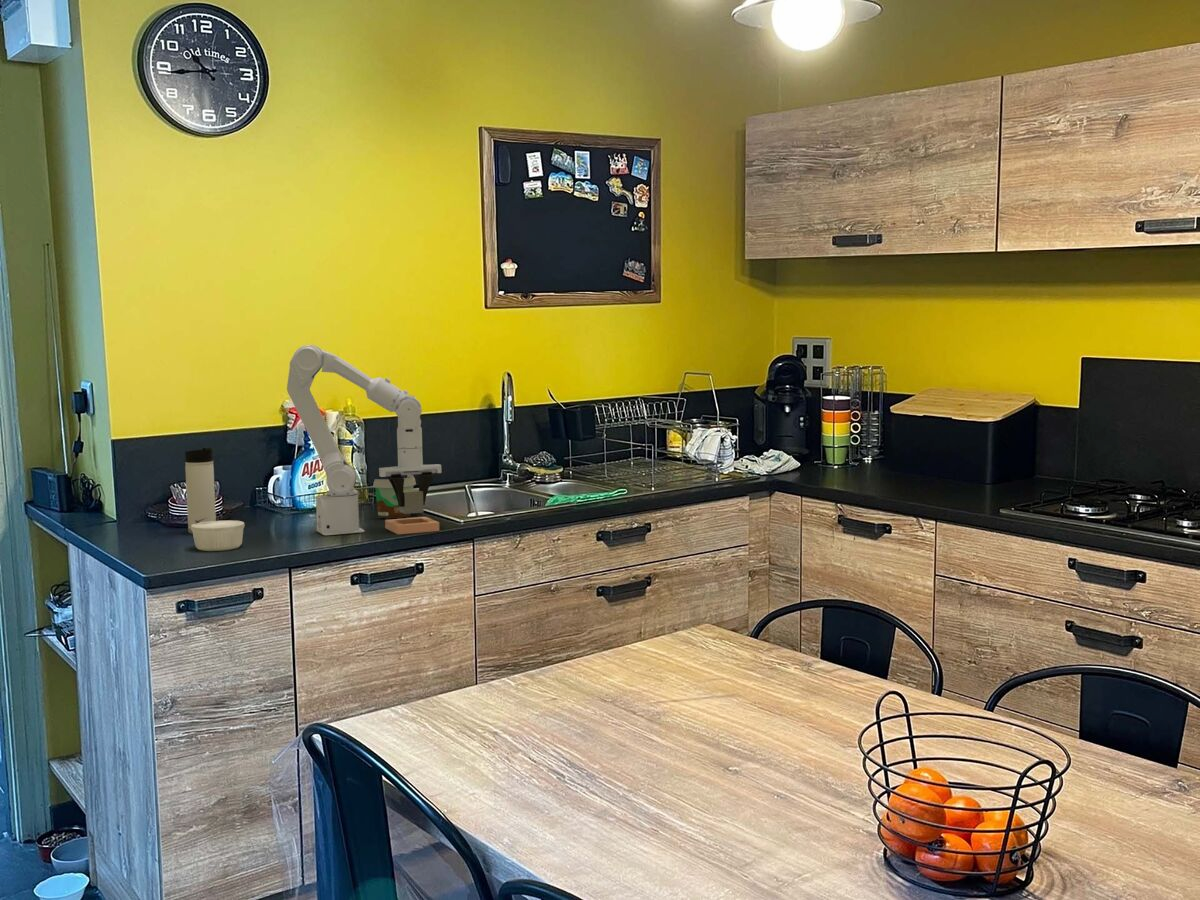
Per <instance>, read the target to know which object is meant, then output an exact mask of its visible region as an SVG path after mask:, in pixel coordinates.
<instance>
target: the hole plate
mask: <svg viewBox="0 0 1200 900" xmlns="http://www.w3.org/2000/svg"><path fill="white" fill-rule="evenodd" d="M384 524H385V525H384V526H385V527H384V528H385V530H387V531H389V532H392V533H394V534H396V535H407V534H418V533H419V534H420V533H431V532H440V522H439V521H437V520H435V519H432V518H430V517H428V516H418V517H406V518H397V519H385V520H384Z"/></svg>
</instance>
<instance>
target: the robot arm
mask: <svg viewBox="0 0 1200 900" xmlns="http://www.w3.org/2000/svg"><path fill="white" fill-rule="evenodd" d="M320 371H321V372H322V373H330V374H331V373H333V374H337V375H338V376H340V377H342V378H344V379H345V380H347V381H348V382H351V383H352V384H354V385H356V386H357V387H359V388H361V389H363V390H365V394H366V397H367V399H369V400H370V401H371V402H373V403H375V404H376V405H378V406H380V407H382V408H383V409H385V410H386V411H388V412H390V413H395V414H396V416H397V429H396V441H397V466H389V467H386V466H385V467H379V468H378V473H379V476H378V477H381V478H383V477H384V478H385V477H387V479H389V481H390V483H391V485H392V487H393V489H394V491H395V494H396V497H397V501H398V506H400V507H404V496H403V488H404V479H403V476H407V475H413V476H414V475H416V476H417V483H418V490H421V491H423V506H425V505H426V500H427V495H428V492H429V488H430V487H431V483H432V482H433V479H434V474H442V464H439V463H438V464H436V463H435V464H424V460H423V431H422V430H423V428H422V427H421V425H422V419H421V415H422V411H423V409H422V404H421V402H420V400H419V399H417V397H415V396H414V395H412V394H411V395H410V394H409V391H408V390H406V389H404V390H402V389H401V388H399V387H398V386H396V385H395V384H393V383H391V382H392V380H391V379H389V378H388V377H385V378H382V377H381V376H379V377H376V378H375V377H374V378H371V377H370V376H368V375H367V374H366V373H364V372H363V371H361V370H360V369H358V368H357V367H355V366H353V365H352V364H350V363H349V362H347V361H346V360H345V359H343V358H341V357H340V356H337V355H336V354H334V353H332V352H329V351H327V350H322V349H321V348H320V347H319V346H316V345H314V344H311V345H303V346H299V348H297V349H296V351H295V352H294V354H293V356H292V358H291V359H290V360H289V370H288V377H287V384H286V391H287V393H288V396H289V398H290V400H291V401H292V402H291V403H292V404H293V406H294V408H295V409H296V412H297V413H298V416H299V418H300V420H301V422H302V424H303V427H304V429H305V430H306V432H307V434H308V437H309V438H310V441H311V442H312V444H313V446H314V448H315V451H316V452H317V454H318V456H319V458H320V461H321V464H322V468H323V470H324V472H325V475H326V485H327V487H328V489H329V490H326V494H324V495H319V496H317V498H316V501H315V502H316V503H315V507H316V530H315V531H316V532H318V533H320V534H321V535H323V536H334V535H347V534H348V535H349V534H357V533H364V532H365V530H364V529H363V528H361V527H360V518H359V517H360V514H359V512H360V511H359V491H358V490H357V489H355V487H354V486H355V484H356V482H357V478H358V477H357V475H358V474H357V471H356V469H354V468H355V467H353V466H352V465H351V464H349V463H348V462H347V460H346V459H345V456H344V455H343V453H342V452H341V451H340V448H339V446H338V444H337V442H336V441H335V438H334V436H333V434H332V432H331V430H330V428H329V426H328V424H327V422H326V420H325V418H324V416H323V414H322V412H321V410H320V407H319V406H318V403H317V401H316V399H315V397H314V395H313V394H312V391H311V388H312V387H311V386H312V385H313V383H314V379H315V377H316V375H317V374H318V373H319V372H320Z"/></svg>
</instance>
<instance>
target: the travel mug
mask: <svg viewBox="0 0 1200 900" xmlns="http://www.w3.org/2000/svg"><path fill="white" fill-rule="evenodd" d="M213 454H214V453H213V448H212V447H203V448H202V449H195V450H193V449H192V450H187V451H184V457H185V460H184V461H185V467H184V469H185V484H186V485H185V486H186V487H185V488H186V489H185V490H186V511H187V529H188V530H187V531H188V533H189V534H192V535H193V532H192V530H191V525H193V524H196V523H202V522H210V521H217V520H216V519H217V516H216V494H215V493H216V492H215V470H214V469H215V468H214V458H213V457H214V455H213Z"/></svg>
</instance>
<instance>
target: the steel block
mask: <svg viewBox="0 0 1200 900" xmlns="http://www.w3.org/2000/svg"><path fill="white" fill-rule="evenodd" d="M403 496H404V507H400V506H399V512H402V513H404V514H410V513H412V514H420V513H421V514H422V513H425V512H424V508H425V507H424V505H423V491H421V490H419V488H415V489H414V488H413V489H412V490H403Z"/></svg>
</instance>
